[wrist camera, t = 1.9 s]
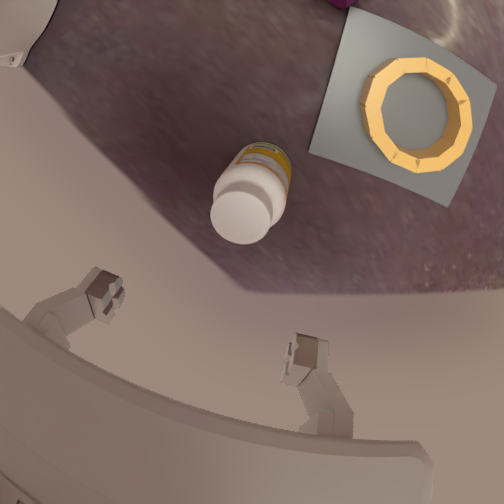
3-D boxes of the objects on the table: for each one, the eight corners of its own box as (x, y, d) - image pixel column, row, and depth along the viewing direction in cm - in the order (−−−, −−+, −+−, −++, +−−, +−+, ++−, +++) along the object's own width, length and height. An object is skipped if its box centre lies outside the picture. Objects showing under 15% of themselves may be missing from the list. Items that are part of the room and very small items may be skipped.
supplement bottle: (254, 202, 28) (230, 263, 20) (224, 158, 26) (184, 205, 18) (302, 179, 26) (296, 235, 18) (272, 130, 23) (250, 165, 16)
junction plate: (308, 149, 24) (307, 161, 21) (348, 8, 15) (354, -1, 12) (443, 202, 23) (456, 220, 21) (491, 84, 15) (511, 89, 12)
